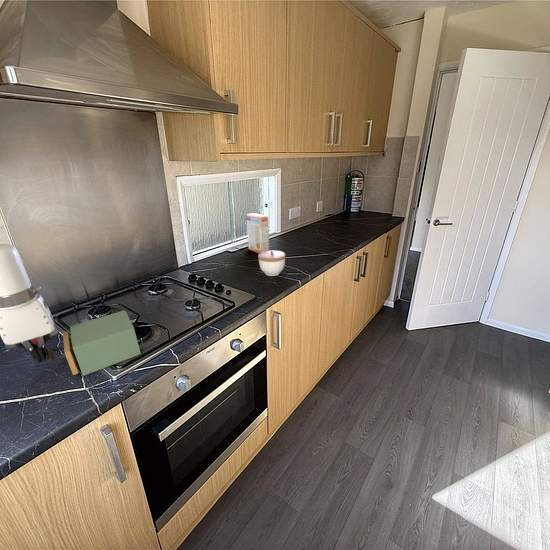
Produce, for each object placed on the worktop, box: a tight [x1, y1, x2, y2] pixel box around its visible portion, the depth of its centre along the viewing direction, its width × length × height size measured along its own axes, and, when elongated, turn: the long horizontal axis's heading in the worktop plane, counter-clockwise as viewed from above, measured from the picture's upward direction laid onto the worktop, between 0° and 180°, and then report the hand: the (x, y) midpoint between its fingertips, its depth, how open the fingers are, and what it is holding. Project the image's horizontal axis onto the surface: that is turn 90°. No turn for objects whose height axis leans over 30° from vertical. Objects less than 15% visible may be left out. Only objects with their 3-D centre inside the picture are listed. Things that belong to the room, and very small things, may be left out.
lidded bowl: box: [257, 250, 286, 277], centre depth 136 cm, size 13×13×11 cm
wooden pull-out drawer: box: [46, 330, 79, 376], centre depth 82 cm, size 18×11×7 cm, turn 126°
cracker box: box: [245, 212, 270, 255], centre depth 165 cm, size 14×6×21 cm, turn 37°
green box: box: [69, 310, 142, 377], centre depth 85 cm, size 15×13×9 cm
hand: (42, 358), depth 76 cm, fingers closed
